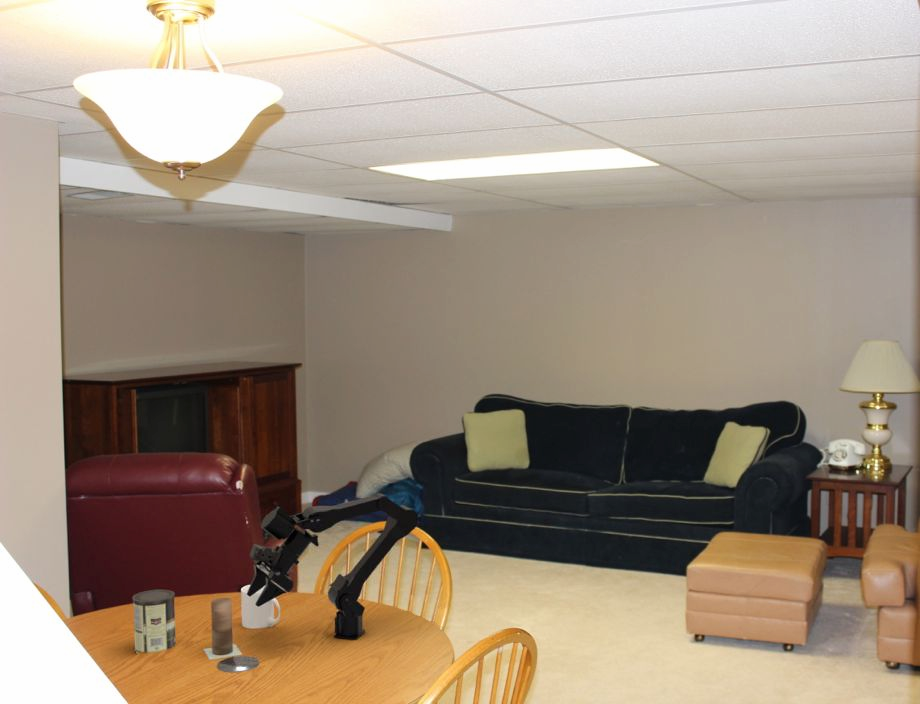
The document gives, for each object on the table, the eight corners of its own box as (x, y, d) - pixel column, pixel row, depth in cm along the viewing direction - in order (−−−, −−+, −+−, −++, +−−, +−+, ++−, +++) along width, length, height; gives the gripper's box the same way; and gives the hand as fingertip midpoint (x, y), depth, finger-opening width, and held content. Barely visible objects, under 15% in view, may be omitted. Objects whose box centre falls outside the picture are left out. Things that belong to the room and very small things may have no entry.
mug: (269, 636, 268) (268, 596, 267) (235, 629, 274) (234, 590, 273) (290, 626, 275) (289, 588, 274) (256, 619, 281) (255, 581, 280)
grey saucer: (266, 663, 249) (266, 658, 249) (246, 678, 239) (246, 673, 239) (230, 659, 252) (230, 654, 251) (209, 673, 242) (209, 669, 242)
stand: (235, 647, 259) (235, 644, 259) (242, 658, 252) (242, 654, 252) (203, 652, 256) (203, 649, 256) (209, 663, 249) (209, 659, 249)
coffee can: (162, 639, 266) (161, 586, 265) (183, 648, 259) (182, 594, 258) (126, 649, 259) (124, 595, 258) (147, 659, 252) (145, 604, 251)
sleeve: (236, 649, 256) (235, 598, 255) (226, 656, 251) (225, 604, 250) (218, 647, 257) (217, 597, 256) (208, 654, 252) (207, 603, 251)
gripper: (258, 524, 265) (220, 573, 262) (276, 540, 249) (236, 593, 245) (290, 548, 269) (252, 597, 266) (310, 565, 253) (270, 617, 249)
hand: (252, 600), depth 256 cm, fingers open, 9 cm apart
